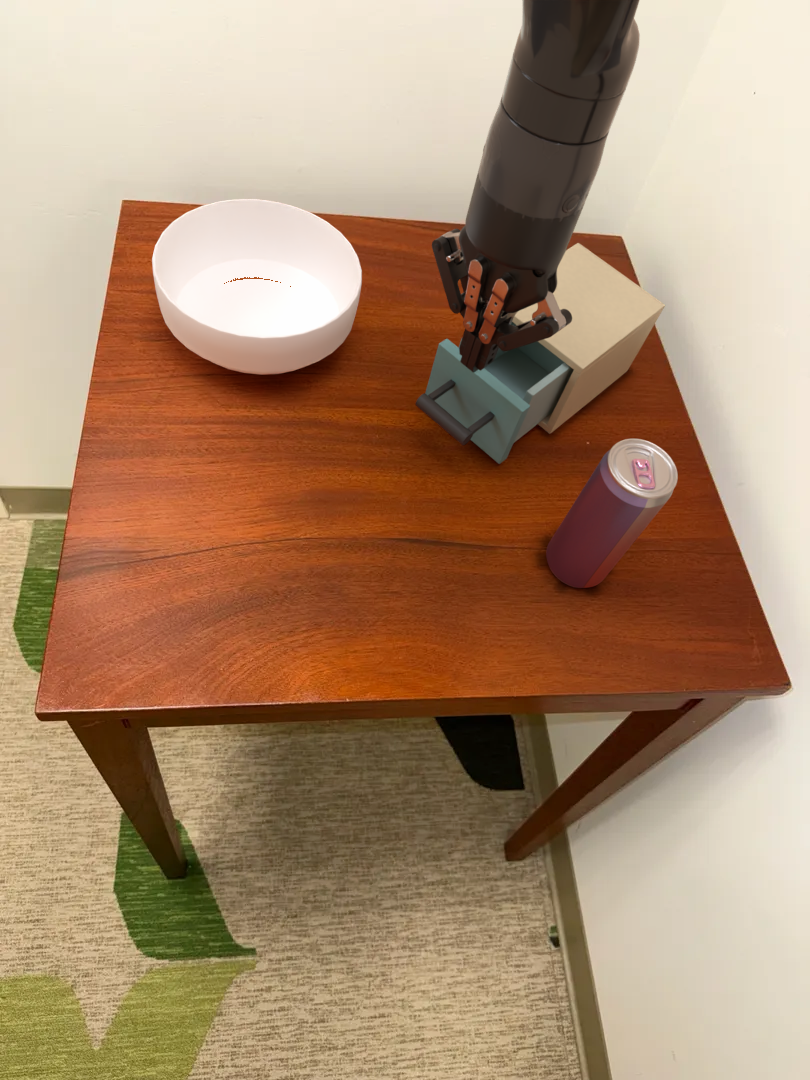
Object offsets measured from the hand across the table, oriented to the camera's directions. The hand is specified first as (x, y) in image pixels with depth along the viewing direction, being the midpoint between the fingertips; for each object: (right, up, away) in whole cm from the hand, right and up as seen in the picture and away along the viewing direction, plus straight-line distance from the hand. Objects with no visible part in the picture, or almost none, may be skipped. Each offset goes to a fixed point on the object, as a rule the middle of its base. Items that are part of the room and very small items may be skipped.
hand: (473, 363), depth 66 cm
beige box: (+10, +4, +18) cm, 21 cm away
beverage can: (+10, -17, +6) cm, 21 cm away
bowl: (-21, +7, +14) cm, 26 cm away
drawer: (+3, -2, +12) cm, 13 cm away
